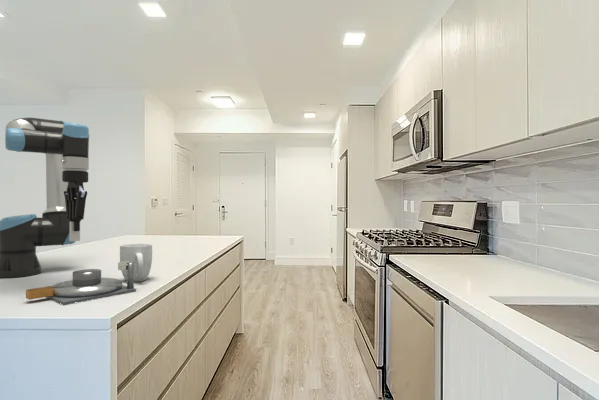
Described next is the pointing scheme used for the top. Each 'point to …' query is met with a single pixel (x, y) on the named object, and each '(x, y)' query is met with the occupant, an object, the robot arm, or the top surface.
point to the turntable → (74, 289)
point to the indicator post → (128, 272)
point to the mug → (137, 259)
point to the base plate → (84, 298)
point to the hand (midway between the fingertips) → (74, 240)
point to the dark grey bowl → (86, 277)
